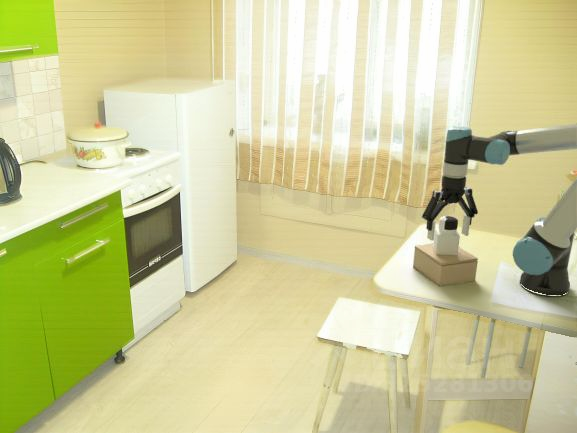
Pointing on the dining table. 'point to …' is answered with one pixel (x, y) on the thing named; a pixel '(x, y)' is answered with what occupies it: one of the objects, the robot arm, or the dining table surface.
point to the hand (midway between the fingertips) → (447, 236)
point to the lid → (446, 259)
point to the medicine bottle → (446, 237)
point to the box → (444, 270)
